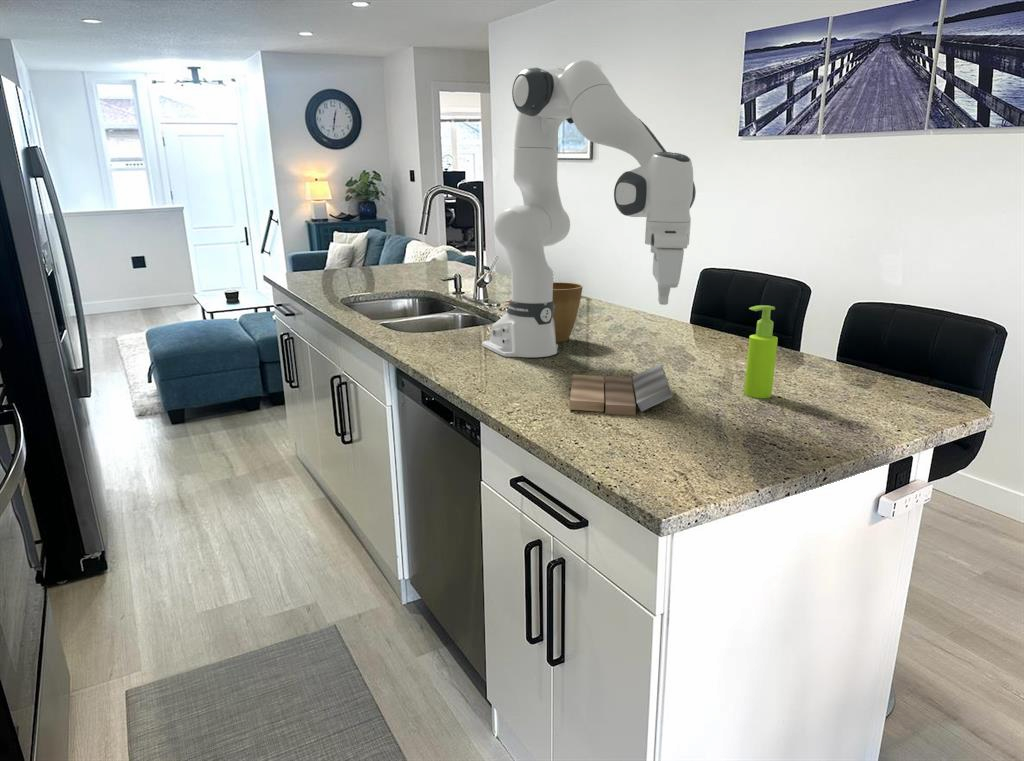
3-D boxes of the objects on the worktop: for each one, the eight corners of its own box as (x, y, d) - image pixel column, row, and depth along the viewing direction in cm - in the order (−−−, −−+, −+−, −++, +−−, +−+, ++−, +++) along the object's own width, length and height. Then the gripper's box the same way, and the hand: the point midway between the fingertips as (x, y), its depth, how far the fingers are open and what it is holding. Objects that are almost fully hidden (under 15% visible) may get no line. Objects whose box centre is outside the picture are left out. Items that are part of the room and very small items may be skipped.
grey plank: (636, 384, 166) (632, 377, 166) (664, 370, 165) (660, 363, 164) (641, 411, 147) (636, 403, 147) (673, 396, 146) (668, 388, 145)
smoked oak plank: (572, 382, 168) (573, 374, 167) (602, 384, 167) (603, 376, 167) (569, 409, 149) (569, 400, 148) (603, 411, 148) (604, 402, 148)
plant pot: (580, 334, 220) (582, 282, 215) (580, 346, 205) (582, 289, 201) (531, 333, 221) (532, 280, 217) (527, 344, 207) (529, 288, 202)
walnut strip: (604, 384, 168) (604, 375, 168) (630, 385, 168) (631, 376, 167) (605, 413, 147) (605, 404, 147) (635, 415, 146) (635, 405, 146)
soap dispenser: (734, 392, 163) (743, 304, 158) (759, 389, 165) (769, 302, 160) (751, 399, 158) (761, 309, 152) (777, 397, 160) (787, 307, 155)
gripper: (648, 231, 157) (644, 295, 161) (655, 239, 138) (650, 311, 141) (677, 232, 156) (673, 296, 160) (689, 240, 137) (683, 312, 141)
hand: (662, 303), depth 151 cm, fingers closed
